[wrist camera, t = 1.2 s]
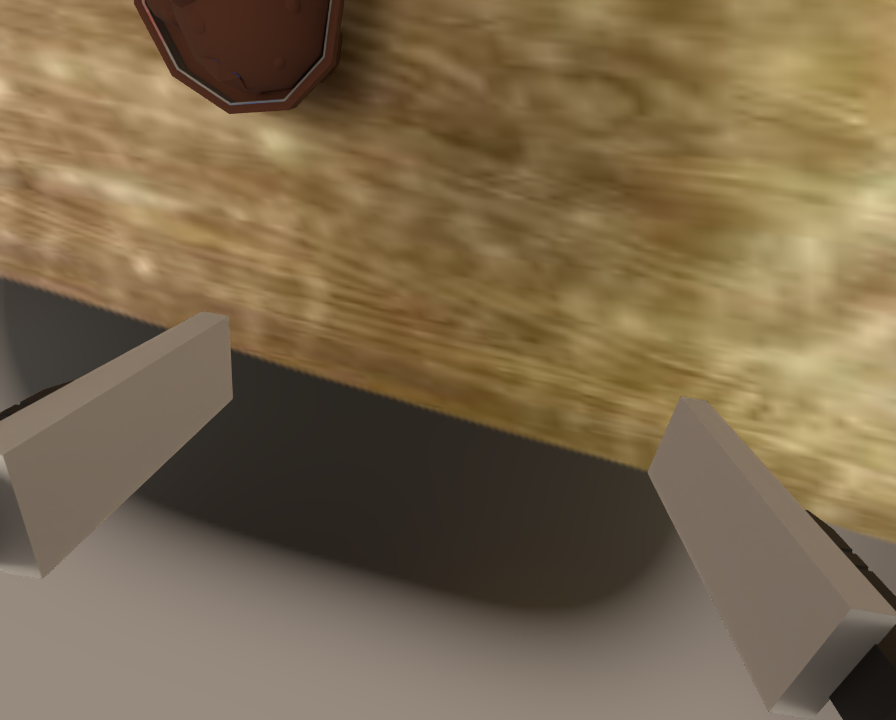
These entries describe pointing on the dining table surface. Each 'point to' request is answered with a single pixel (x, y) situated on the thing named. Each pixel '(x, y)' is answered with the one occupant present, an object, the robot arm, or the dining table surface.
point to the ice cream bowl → (247, 48)
